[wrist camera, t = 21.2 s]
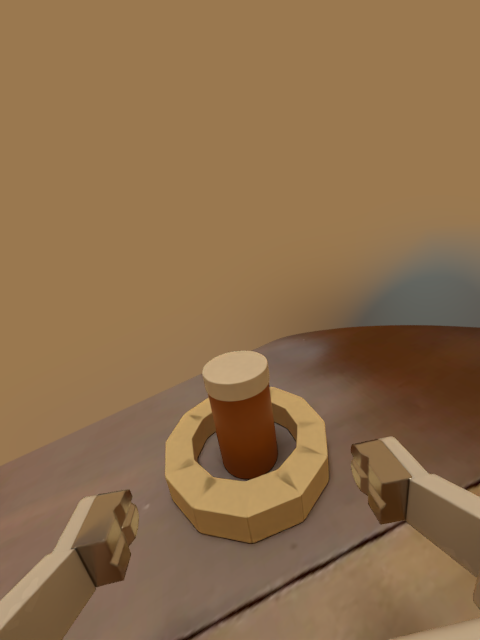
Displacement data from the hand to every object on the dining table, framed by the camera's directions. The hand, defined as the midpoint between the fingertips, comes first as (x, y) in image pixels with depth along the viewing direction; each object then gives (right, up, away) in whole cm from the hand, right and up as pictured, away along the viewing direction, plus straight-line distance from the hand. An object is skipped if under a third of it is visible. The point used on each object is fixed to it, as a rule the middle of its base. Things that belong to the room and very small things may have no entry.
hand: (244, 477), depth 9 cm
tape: (0, -6, +13) cm, 15 cm away
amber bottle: (+1, -6, +13) cm, 15 cm away
